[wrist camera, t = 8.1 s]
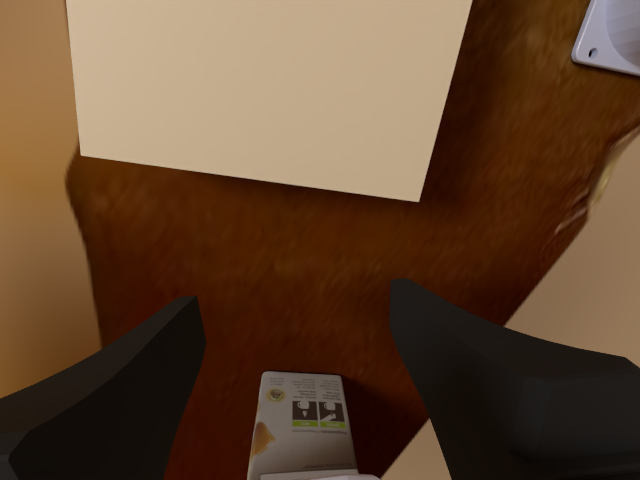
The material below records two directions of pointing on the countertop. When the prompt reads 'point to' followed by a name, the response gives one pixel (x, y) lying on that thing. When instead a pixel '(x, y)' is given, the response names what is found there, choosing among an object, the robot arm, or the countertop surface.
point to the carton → (268, 87)
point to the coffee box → (301, 428)
